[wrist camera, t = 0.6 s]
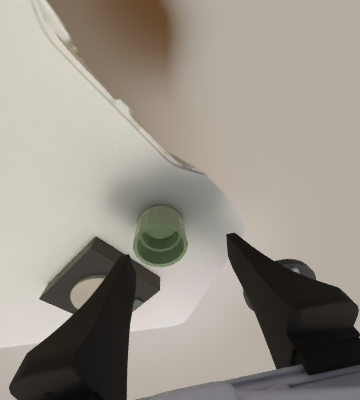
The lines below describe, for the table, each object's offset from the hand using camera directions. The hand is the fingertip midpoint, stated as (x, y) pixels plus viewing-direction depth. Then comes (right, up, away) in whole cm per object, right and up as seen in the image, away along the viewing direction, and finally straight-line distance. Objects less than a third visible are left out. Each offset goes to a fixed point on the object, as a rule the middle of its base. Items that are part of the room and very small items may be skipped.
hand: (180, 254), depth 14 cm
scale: (-11, -8, +13) cm, 19 cm away
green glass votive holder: (-2, +1, +10) cm, 10 cm away
